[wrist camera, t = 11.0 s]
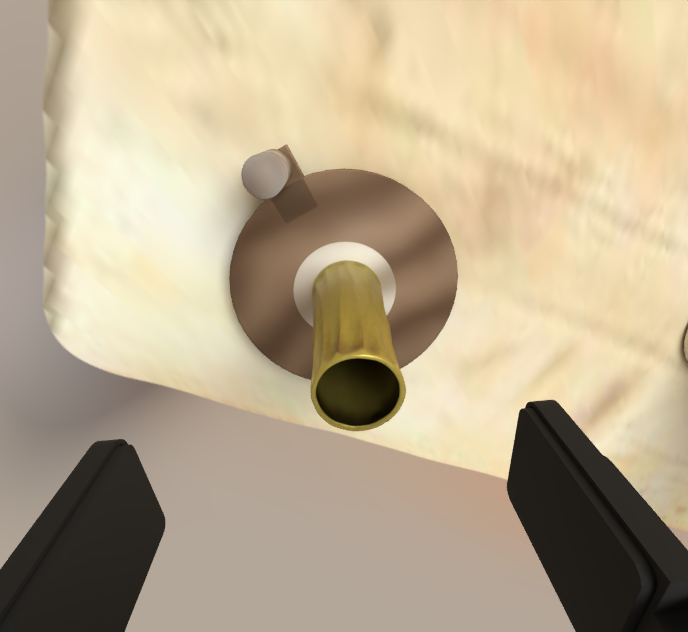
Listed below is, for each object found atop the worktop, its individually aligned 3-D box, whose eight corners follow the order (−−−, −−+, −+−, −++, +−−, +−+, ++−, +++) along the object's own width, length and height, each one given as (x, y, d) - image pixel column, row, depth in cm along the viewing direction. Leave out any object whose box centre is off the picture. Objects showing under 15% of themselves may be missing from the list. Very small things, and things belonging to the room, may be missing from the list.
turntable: (490, 301, 36) (528, 340, 29) (327, 406, 41) (326, 460, 34) (347, 79, 28) (353, 63, 21) (162, 244, 32) (119, 275, 26)
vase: (339, 335, 35) (346, 453, 22) (297, 286, 33) (278, 387, 20) (394, 298, 34) (435, 402, 21) (354, 245, 31) (372, 324, 19)
